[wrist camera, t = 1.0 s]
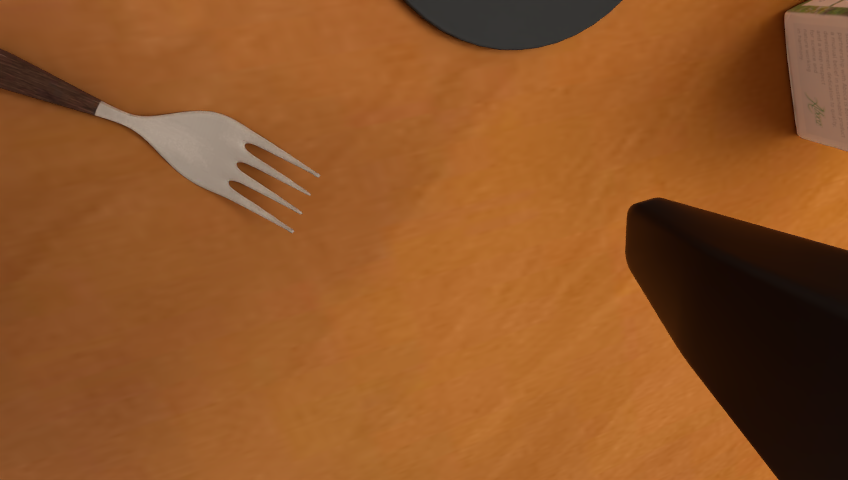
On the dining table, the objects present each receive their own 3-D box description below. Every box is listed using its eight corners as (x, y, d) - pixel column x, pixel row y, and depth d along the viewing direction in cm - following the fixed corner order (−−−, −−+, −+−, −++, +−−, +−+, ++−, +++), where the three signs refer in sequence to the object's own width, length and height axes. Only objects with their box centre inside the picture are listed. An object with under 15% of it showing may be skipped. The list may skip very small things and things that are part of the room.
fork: (-256, -93, 16) (-320, -100, 14) (317, 153, 22) (323, 170, 20) (-275, 4, 17) (-337, 8, 15) (287, 217, 23) (291, 239, 21)
